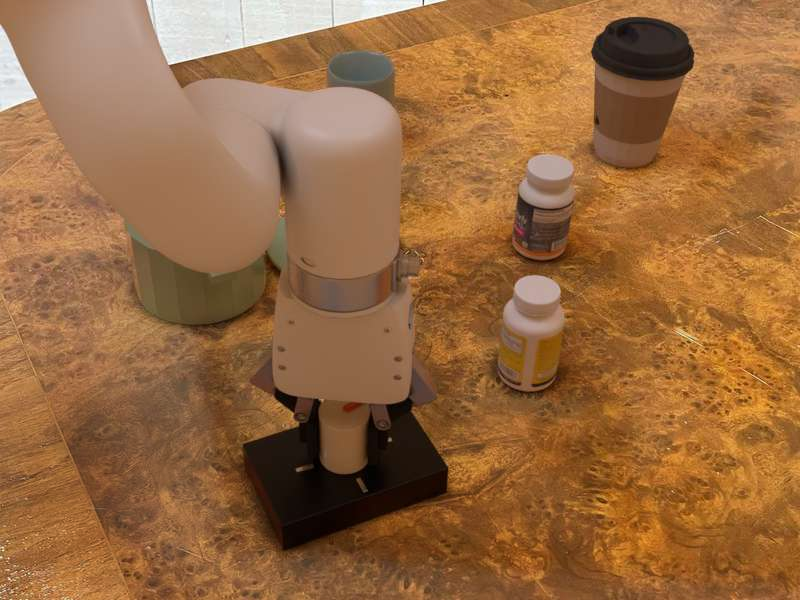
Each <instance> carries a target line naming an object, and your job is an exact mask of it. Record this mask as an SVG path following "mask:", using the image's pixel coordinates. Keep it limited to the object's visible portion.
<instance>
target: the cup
mask: <svg viewBox="0 0 800 600" xmlns="http://www.w3.org/2000/svg"><path fill="white" fill-rule="evenodd" d="M325 75H326V76H325V77H326V79H325V80H326V88H331V87H352V88H359V89H363V90H367V91H370V92H373V93H375V94H377V95H379V96H381V97H382V98H384V99H385V100H387V101H388V102H389V103H390V104H391V105H392V106H393V107H394V108H395V102H396V101H395V98H396V69H395V63H394V62H393V60H392V59H391V58H390V57H388V56H387V55H385V54H383V53H381V52H377V51H372V50H349V51H344V52H340V53H337V54H335V55H333V56H332V57H331V58H330V59H329V60H328V62H327V64H326V74H325Z"/></svg>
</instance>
